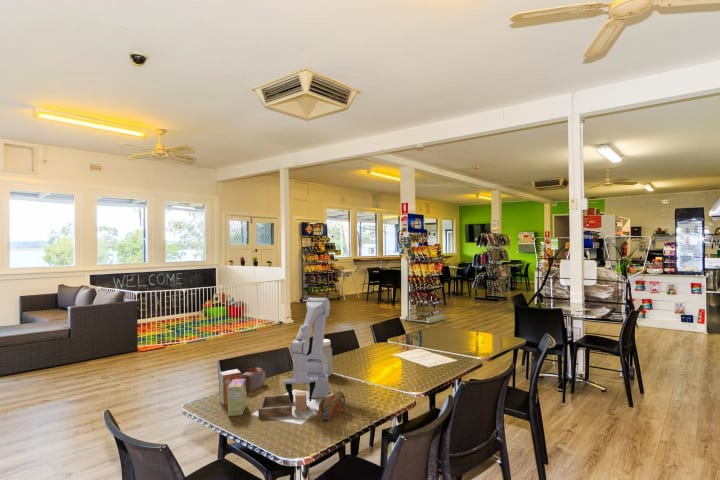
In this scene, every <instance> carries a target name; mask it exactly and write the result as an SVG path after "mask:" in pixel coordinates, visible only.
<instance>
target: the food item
mask: <svg viewBox="0 0 720 480" xmlns="http://www.w3.org/2000/svg"><path fill="white" fill-rule="evenodd" d="M266 377H267V376H266V371H264V370H263V368H261V367H250V368H249V367H248V368H247V369H246V372H244V373H241V379H246V394H247V393H248V394H250V393H251V392H253V391H254V390H258V389H259V388H260V387H261V386H262V385H264V383H266Z"/></svg>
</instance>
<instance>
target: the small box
mask: <svg viewBox="0 0 720 480" xmlns="http://www.w3.org/2000/svg"><path fill="white" fill-rule="evenodd" d="M218 375H219V376H218V377H219V379H218V380H219V383H218V384H219V401H220V403H221V404H222V405H223V406H225V405H228V398H227V387H228V386H229V384H230V383H231V381H232V380H233V379H241V375H242V372H241V371H240V370H239V369H238V368H235V369H230V370H229V369H228V370H225V371H219V374H218Z"/></svg>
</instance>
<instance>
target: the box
mask: <svg viewBox="0 0 720 480" xmlns="http://www.w3.org/2000/svg"><path fill="white" fill-rule="evenodd" d="M227 398H228V404H227V416H228V417H235V416H242V415H243V414H244V411H245V410H246V408H247V393H246V379H233V380H232V381H231V383H230V384H229V386H228V387H227Z"/></svg>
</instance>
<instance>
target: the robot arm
mask: <svg viewBox="0 0 720 480" xmlns="http://www.w3.org/2000/svg"><path fill="white" fill-rule="evenodd" d="M305 305H306V306H305V307H306V314H305V318H304V322H303V324H302V325H300V327H299V329H298V331H297V334H296V337H295V339H294V340H292V341H291V343H290V346H289V351H290V355H291V358H292V365H293V366H292V367H293V378H288V379H287V378H286V379H283V380H282V386H284V387H285V391H287V395H289V396H290V400H291V403H290V404H294V403H293V396H294V394H293V385H303V384H304V385H305V384H308V385H307V387H308V388H307V390H308V391H307V398H308V399H309V402H312V399H316V398H319V399H320V398H324V397H326V396H328V395H329V392H330V386H329V376H328V375H325V374H326V373H327V369H328V365H327V358H326V357H325V356H324V355H323V354H322V350H323V341H324V339H325V330H326V321H327V317H330V316H329V315H330V310H331V303H330V299H329V298H328V297H310V296H309V297H308V298H307V300H306V304H305ZM313 324H314V328H313ZM312 333H313V336H312ZM311 336H312V344H311V352H310V354H308V353H309V349H310V339H311ZM314 360H321V361H314ZM292 394H293V395H292Z"/></svg>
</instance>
